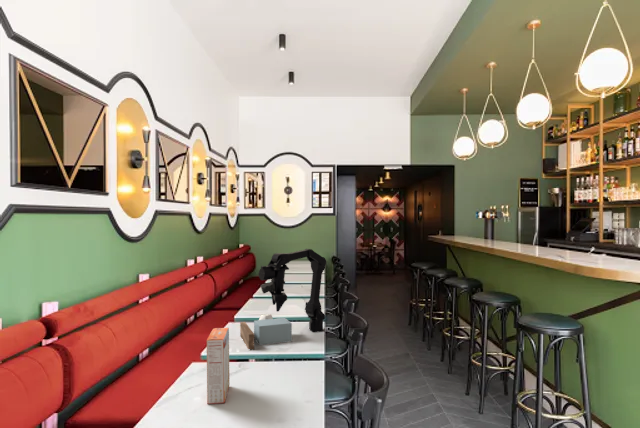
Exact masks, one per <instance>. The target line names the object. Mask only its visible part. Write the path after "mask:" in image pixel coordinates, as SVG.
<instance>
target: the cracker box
mask: <svg viewBox="0 0 640 428" xmlns="http://www.w3.org/2000/svg"><path fill="white" fill-rule="evenodd" d="M229 389H230V328H229V327H215V328H212V330H211V332H210V334H209V335H208V337H207V339H206V394H207V395H206V396H207V398H206V400H207V405H215V404H225V402H226V400H227V395H228V393H229Z"/></svg>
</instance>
